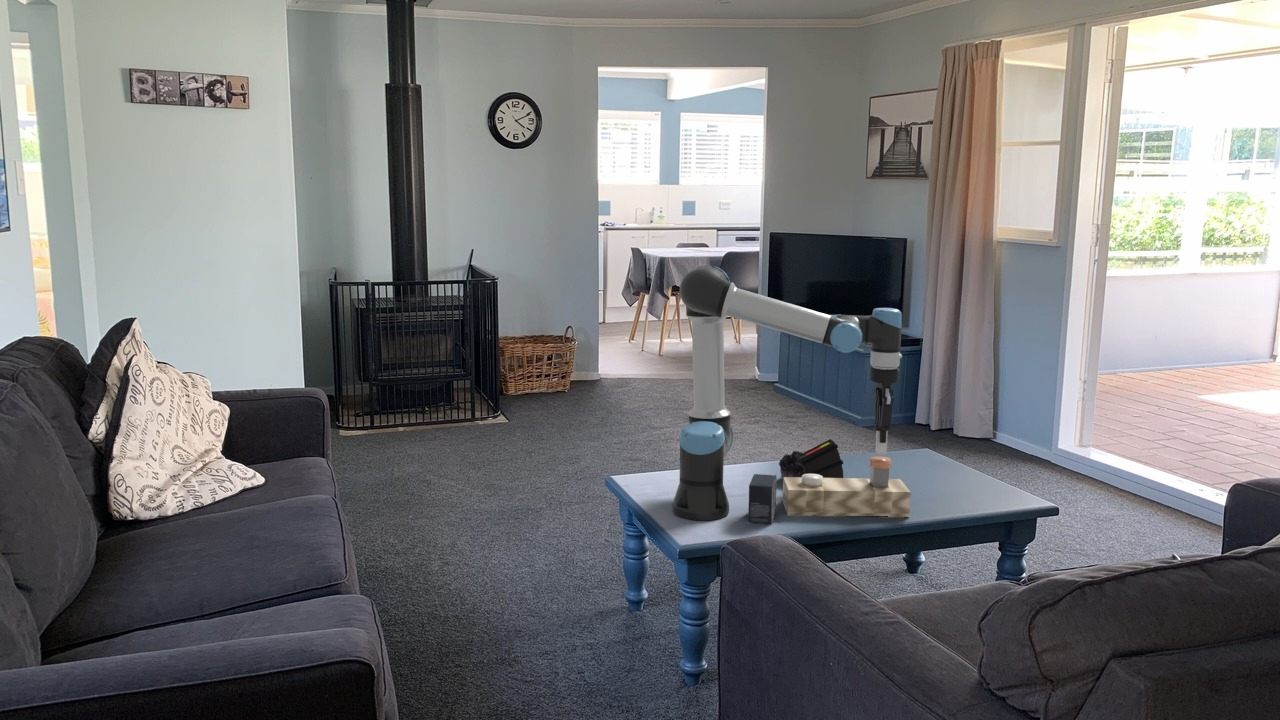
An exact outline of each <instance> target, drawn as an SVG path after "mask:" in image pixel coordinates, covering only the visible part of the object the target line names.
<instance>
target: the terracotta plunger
mask: <svg viewBox="0 0 1280 720" xmlns="http://www.w3.org/2000/svg"><path fill="white" fill-rule="evenodd" d="M868 464H869V465H868V466H869V467H870V477H869V479H870V484H871V486H872V487H881V488H888V481H889V479H890V477H889V475H890V469H891V466H892V458H890V457H886V456H879V455H878V456H876V455H875V456H870V457H869V463H868Z"/></svg>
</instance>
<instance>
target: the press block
mask: <svg viewBox="0 0 1280 720" xmlns="http://www.w3.org/2000/svg"><path fill="white" fill-rule="evenodd" d="M782 481H783V482H782V503H783V507H784V509H785V511H786V514H787V515H786V516H789V517H790V516H792V517H793V516H794V517H796V516H799V517H846V516H888V517H887V518H904V517H909V518H910V512H911V511H910V510H911V509H910V508H911V496H912V494H911V491H910V489H909V488H908V487H907V486H906V484H905V483H904V482H903V480H901V478H889V481H888V488H881V487H872V486H871V484H870V478H866V477H865V478H863V477H861V478H859V477H857V478H855V477H844V478H823V484H822V485H821V487H820V486H817V487H811V486H804V485H803V484H802V483H801V482H802V477H783V480H782ZM812 515H813V516H812ZM814 515H816V516H814ZM817 515H818V516H817Z"/></svg>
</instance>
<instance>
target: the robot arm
mask: <svg viewBox="0 0 1280 720" xmlns="http://www.w3.org/2000/svg"><path fill="white" fill-rule="evenodd" d="M679 296H680V298H681V301H682V302H683V305H685V310H686V311H685V312H686V313H685V314H686V318H687V319H688V320H689V321H690V322H691V334H692V335H691V337H692V341H691V342H692V343H691V344H692V378H693V379H692V380H693V381H692V383H693V386H692V387H693V407H692V409H691V410H690V411H689V412H688V423H687V424H685V425H683V427H682V428H681V429H680V435H679V440H678V441H679V484H678V486H677V489H676V492H675V495H674V497H673V501H672V513H673V514H674V515H675V516H678V517H680V518H684V519H687V520H693V521H713V520H718V519H722V518H725V517H727V516H728V515H729V513H730V503H729V500H728V499H729V498H728V497H727V492H726V490H725V486H724V462H725V461H724V458H725V456H726V455H727V454H728V452H729V451H730V449H731V448H732V446H733V442H734V431H733V428H732V424H731V411H730V410H728V409H727V408H726V406H725V405H726V402H725V395H726V394H725V391H726V390H725V350H724V349H725V343H724V336H725V335H724V321H725V320H726V319H727V318H728V317H730V318H734V319H738V320H740V321H744V322H747V323H751V324H754V325H758V326H761V327H765V328H768V329H771V330H774V331H779V332H781V333H786V334H788V335H792V336H796V337H799V338H802V339H805V340H809V341H813V342H816V343H818V344H822V345H824V346H828V347H830V348H833V349H835V350H837V351H838V352H840V353H844V354H846V353H847V354H848V353H852V352H855V350H857V349H858V348H859V346H860V345H870V346H871V347H870V361H869V362H870V365H871V367H870V368H869V369H870V371H869V380H870V382H873V383H876V387H875V388H873V394H874V425H875V428H874V429H875V431H876V432H875V454H876V455H887V453H888V451H887V450H888V438H889V434H888V432H889V431H890V430H891V422H892V414H893V413H892V412H893V405H894V401H895V398H894V395H893V394H894V390H893V389H892V384H896V383H898V382H899V381H900V368H899V366H900V364H901V362H900V361H901V359H902V358H903V355H902V353H901V347H902V345H901V344H902V343H901V342H902V329H903V326H902V325H903V324H902V321H903V320H902V317H903V316H902V312H901V310H899V309H897V308H893V307H877V308H873V310H872V314H871V315H854V314H853V315H852V314H849V315H848V314H841V313H839V314H827V313H823V312H819V311H816V310H813V309H809V308H806V307H803V306H800V305H796V304H793V303H790V302H785V301H782V300H779V299H776V298H772V297H768V296H766V295H762V294H759V293H755V292H753V291H752V292H751V291H749V290H745V289H741V288H739V287H737V286H736V285H735V283H734V282H732V281H730V278H729V276H728V274H727V273H726V272H725V271H724V270H723V269H721V268H720V267H717V266H715V265H701V266H698V267H697V268H695V269H692V270H690V271H688V272H687V273H686V274H685V275H684V276H683V278H682V280H681V282H680V285H679Z"/></svg>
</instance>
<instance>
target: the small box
mask: <svg viewBox="0 0 1280 720" xmlns="http://www.w3.org/2000/svg"><path fill="white" fill-rule="evenodd" d="M776 514H777V474H758V473H754V474H753V476H752V478H751V480H750V483H749V484H748V524H759V525H770V526H772V525H773V523H774V520H775V516H776Z"/></svg>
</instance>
